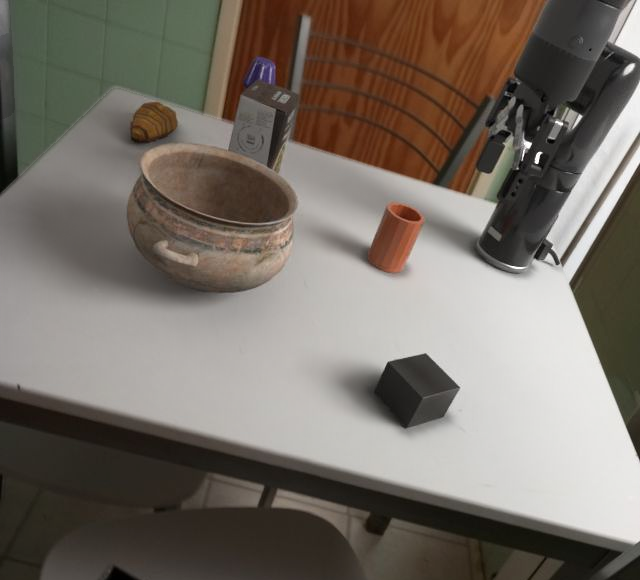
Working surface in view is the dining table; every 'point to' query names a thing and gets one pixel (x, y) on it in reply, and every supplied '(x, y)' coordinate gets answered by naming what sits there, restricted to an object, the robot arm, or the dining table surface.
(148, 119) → the croissant
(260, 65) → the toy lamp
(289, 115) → the coffee box
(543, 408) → the dining table surface
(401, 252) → the cup
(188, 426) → the dining table surface
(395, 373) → the block
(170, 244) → the cooking pot
